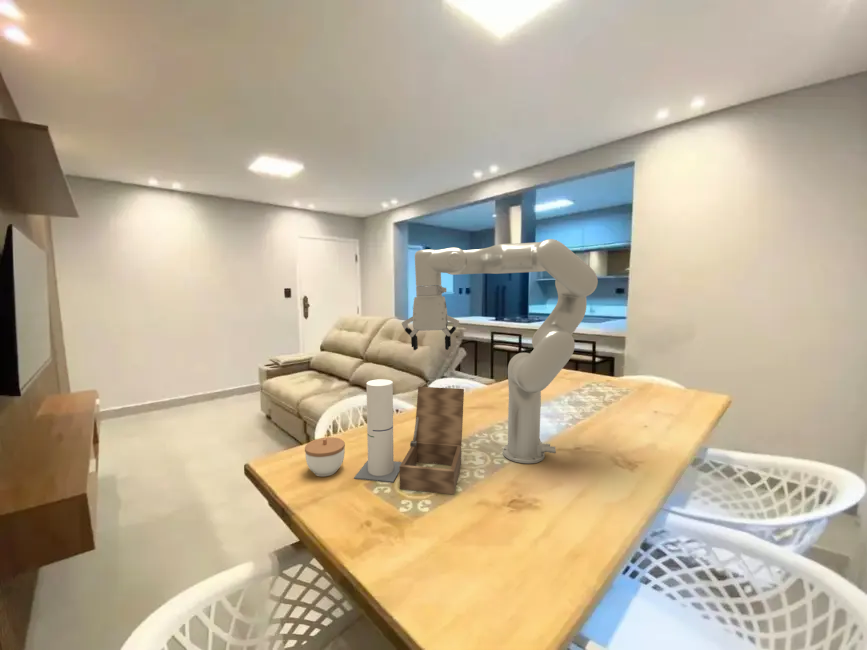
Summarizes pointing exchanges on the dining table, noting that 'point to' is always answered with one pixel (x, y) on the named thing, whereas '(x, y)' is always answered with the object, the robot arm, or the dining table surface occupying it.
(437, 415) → the case
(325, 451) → the lidded jar
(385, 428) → the cylindrical container
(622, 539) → the dining table surface
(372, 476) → the mat
